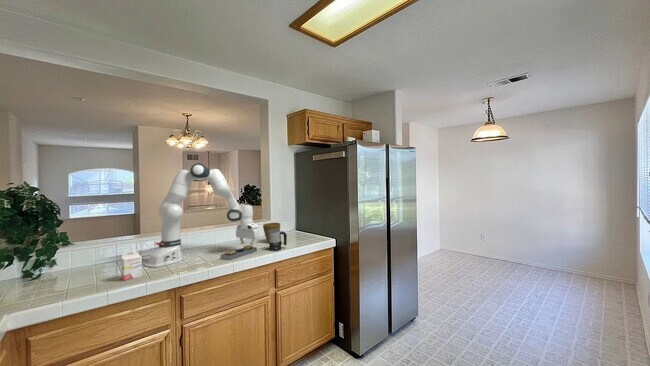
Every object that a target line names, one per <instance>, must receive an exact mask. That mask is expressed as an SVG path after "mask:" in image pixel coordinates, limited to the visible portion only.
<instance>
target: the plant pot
mask: <svg viewBox="0 0 650 366" xmlns="http://www.w3.org/2000/svg"><path fill="white" fill-rule="evenodd" d="M262 229H263V233H264V237H265V238H266V239H265V240H266V241H267V243H268V244H269V232H268V231H269V230H280V231H281V223H280V222H269V223H263V224H262Z"/></svg>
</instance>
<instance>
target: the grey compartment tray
mask: <svg viewBox="0 0 650 366" xmlns="http://www.w3.org/2000/svg"><path fill="white" fill-rule="evenodd" d="M234 251H236V254H233V255H226V253H225V252H224V253H222V254H220V260H225V261H233V260H235V259H240V258H242V257H245V256H247V255H251V254H254V253H256V252H258V247H255V246H252V249H249V250H245V249H243V247H241V248H238V249H234Z"/></svg>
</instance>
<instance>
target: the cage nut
mask: <svg viewBox="0 0 650 366" xmlns="http://www.w3.org/2000/svg"><path fill="white" fill-rule="evenodd" d="M252 247H253V245H250V244H247V245H243V246H242V248H243V249H245V250H249V249H252Z"/></svg>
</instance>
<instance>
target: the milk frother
mask: <svg viewBox="0 0 650 366" xmlns="http://www.w3.org/2000/svg"><path fill="white" fill-rule="evenodd" d="M268 232H269V243H268V244H269V247H268V248H269V249H268V251H269V252H270V251H271V252H278V251H280V250H282V245H284V246H287V241H288V240H287V239H288V238H287V237H288V236H287V233H286V232H285V231H281V229H280V230H269V231H268ZM281 235H283V242H282V238H281V237H282V236H281Z"/></svg>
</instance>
